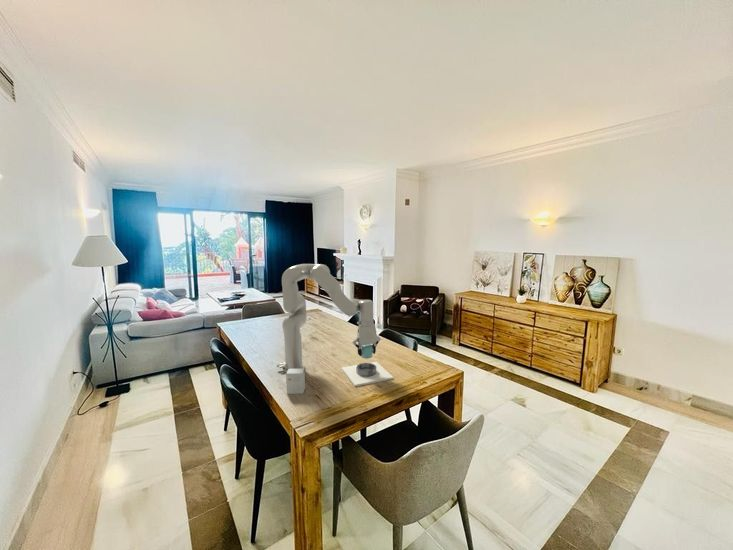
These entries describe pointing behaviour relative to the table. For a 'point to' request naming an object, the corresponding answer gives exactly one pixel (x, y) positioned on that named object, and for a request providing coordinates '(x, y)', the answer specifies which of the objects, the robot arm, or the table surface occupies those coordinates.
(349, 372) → the mount plate
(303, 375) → the small box
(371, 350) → the teal bumpy cylinder
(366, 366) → the dark grey round dish
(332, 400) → the table surface
